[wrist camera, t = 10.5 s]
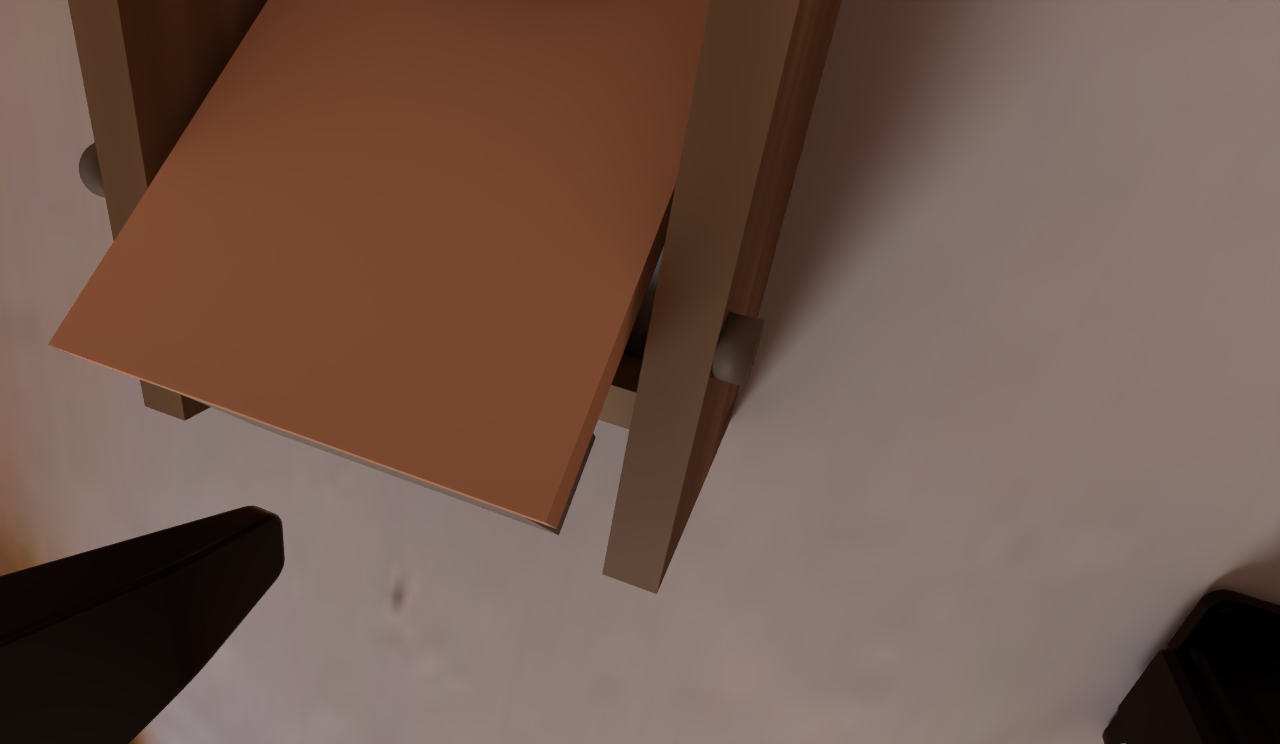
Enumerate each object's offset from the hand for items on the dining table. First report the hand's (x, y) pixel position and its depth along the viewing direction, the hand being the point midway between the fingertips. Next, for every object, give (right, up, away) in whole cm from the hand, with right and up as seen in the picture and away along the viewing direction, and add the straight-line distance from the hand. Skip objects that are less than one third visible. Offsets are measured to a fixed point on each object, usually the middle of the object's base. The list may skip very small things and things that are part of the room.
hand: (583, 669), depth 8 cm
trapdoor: (-3, +6, +10) cm, 12 cm away
